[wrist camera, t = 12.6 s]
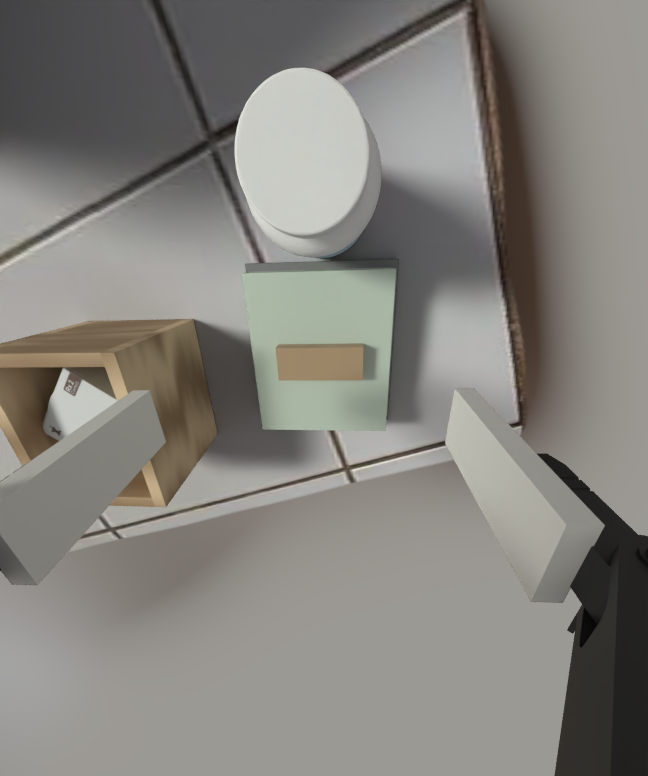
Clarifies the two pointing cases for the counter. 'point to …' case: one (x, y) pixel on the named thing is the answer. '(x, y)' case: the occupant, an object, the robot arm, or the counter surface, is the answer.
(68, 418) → the skincare box
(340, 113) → the pill bottle
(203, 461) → the counter surface
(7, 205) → the counter surface
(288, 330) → the lid
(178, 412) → the box
